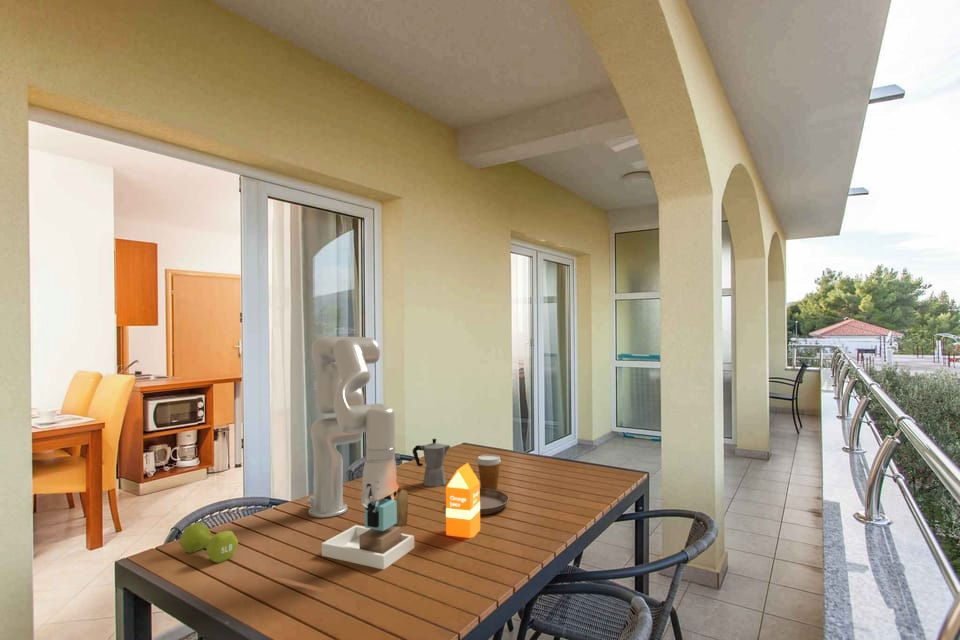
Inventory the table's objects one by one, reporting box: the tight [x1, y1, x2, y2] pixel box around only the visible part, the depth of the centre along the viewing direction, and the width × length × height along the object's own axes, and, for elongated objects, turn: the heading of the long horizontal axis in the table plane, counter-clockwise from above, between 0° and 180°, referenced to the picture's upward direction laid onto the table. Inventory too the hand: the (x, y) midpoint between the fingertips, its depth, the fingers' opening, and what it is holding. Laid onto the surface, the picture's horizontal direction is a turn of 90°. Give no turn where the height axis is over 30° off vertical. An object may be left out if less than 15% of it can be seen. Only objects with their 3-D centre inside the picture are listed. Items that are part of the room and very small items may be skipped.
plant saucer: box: [480, 488, 510, 516], centre depth 170 cm, size 21×21×3 cm
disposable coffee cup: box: [476, 454, 502, 490], centre depth 190 cm, size 10×10×12 cm
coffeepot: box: [412, 438, 451, 488], centre depth 198 cm, size 15×9×18 cm, turn 102°
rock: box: [395, 488, 409, 528], centre depth 154 cm, size 11×9×10 cm
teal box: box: [364, 498, 397, 531], centre depth 131 cm, size 6×6×6 cm
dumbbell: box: [179, 522, 239, 564], centre depth 133 cm, size 16×8×7 cm, turn 60°
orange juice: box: [445, 462, 481, 539], centre depth 146 cm, size 8×9×20 cm
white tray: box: [321, 524, 415, 571], centre depth 132 cm, size 20×14×4 cm
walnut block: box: [360, 525, 402, 554], centre depth 130 cm, size 7×9×6 cm
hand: (380, 521), depth 131 cm, fingers closed on teal box, 5 cm apart
